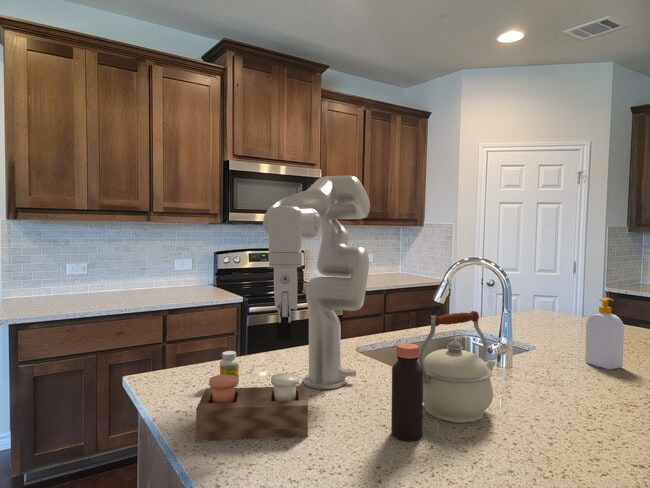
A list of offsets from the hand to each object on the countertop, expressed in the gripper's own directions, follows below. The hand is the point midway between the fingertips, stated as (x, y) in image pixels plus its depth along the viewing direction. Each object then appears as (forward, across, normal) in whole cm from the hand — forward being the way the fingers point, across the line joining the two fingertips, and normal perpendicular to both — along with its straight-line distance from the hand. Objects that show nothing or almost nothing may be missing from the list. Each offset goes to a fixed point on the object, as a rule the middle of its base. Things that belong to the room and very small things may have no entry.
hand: (284, 339), depth 100 cm
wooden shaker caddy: (+20, +1, +7) cm, 21 cm away
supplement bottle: (+20, +29, +16) cm, 38 cm away
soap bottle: (+19, +38, -109) cm, 117 cm away
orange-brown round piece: (+15, +1, +14) cm, 20 cm away
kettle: (+20, +6, -44) cm, 49 cm away
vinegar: (+20, -6, -27) cm, 35 cm away
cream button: (+15, +1, 0) cm, 15 cm away
